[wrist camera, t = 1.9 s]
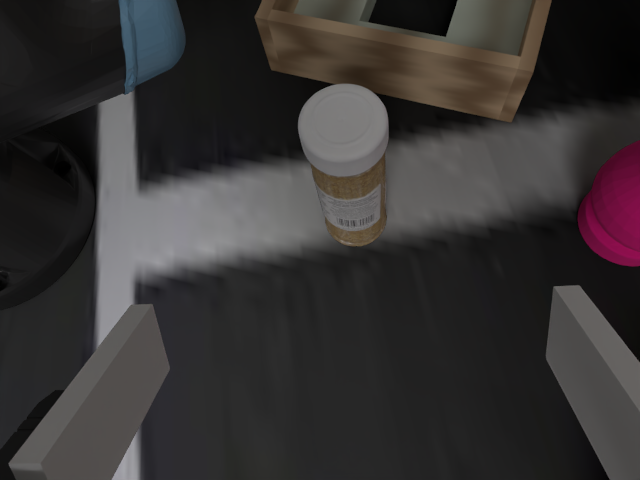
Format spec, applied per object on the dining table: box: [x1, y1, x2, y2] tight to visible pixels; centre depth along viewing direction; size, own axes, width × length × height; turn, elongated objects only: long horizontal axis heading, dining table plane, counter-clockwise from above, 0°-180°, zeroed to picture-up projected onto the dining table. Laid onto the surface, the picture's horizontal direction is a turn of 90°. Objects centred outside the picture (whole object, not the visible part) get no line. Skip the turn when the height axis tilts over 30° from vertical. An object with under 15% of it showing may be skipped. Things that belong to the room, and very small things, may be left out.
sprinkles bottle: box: [298, 84, 389, 246], centre depth 31 cm, size 5×5×13 cm
